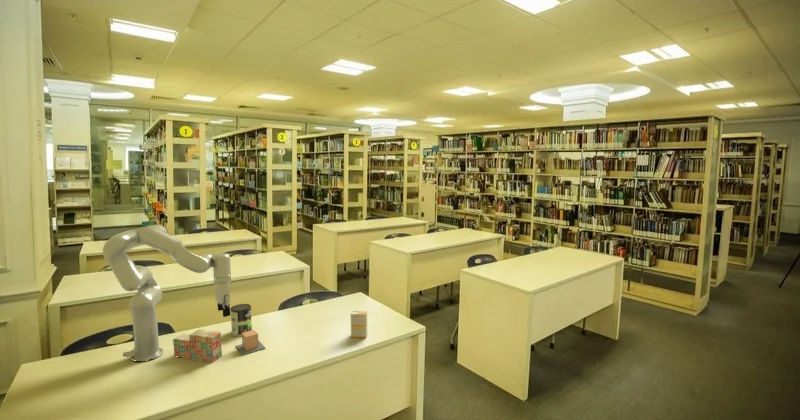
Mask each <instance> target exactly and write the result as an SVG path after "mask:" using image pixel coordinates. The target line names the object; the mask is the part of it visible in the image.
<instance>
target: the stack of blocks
mask: <svg viewBox="0 0 800 420" xmlns="http://www.w3.org/2000/svg"><path fill="white" fill-rule="evenodd" d="M172 342H173V343H172V344H173V352H174V354H173V355H174V357H175V356H178V357H177V358H179V357H182V358H181V359H184V358H188V359H187V360H191V359H194V360H193V361H199V360H201V361H200V362H205V361H206V362H207V363H212V364H213V363H215V362H216V361H218V360H219V359H220V358H222V356H223V353H222V351H223V350H222V332H221V331H215V330H209V329H208V330H207V329H206V330H205V329H197V330H195V331H194V332H192V333H181V334H180V335H178V336H176V337H174V338H173V339H172ZM206 362H205V363H206Z"/></svg>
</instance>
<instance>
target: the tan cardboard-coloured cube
mask: <svg viewBox="0 0 800 420" xmlns="http://www.w3.org/2000/svg"><path fill="white" fill-rule="evenodd" d="M258 340H259V333H258V332H257V331H256V330H255V329H252V330H251V331H247V332H243V333H242V336H241V341H242V342H241V344H242V346H243V348H244V349H245V350H246V351H247V350H251V349H254V348H258V347H259V345H258Z"/></svg>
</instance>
